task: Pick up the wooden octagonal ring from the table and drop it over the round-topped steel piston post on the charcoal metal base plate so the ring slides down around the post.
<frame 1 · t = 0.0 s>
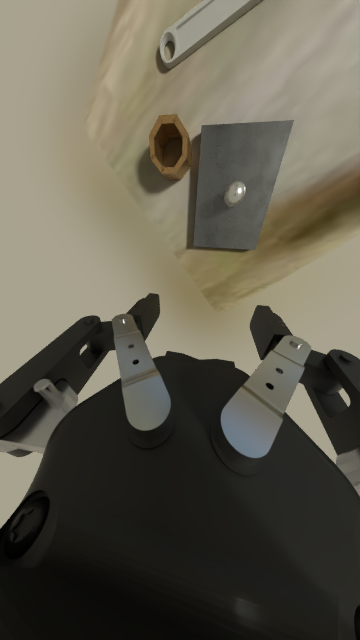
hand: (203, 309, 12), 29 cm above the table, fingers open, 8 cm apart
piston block: (231, 198, 30), on the table
wooden octagonal ring: (174, 157, 28), on the table
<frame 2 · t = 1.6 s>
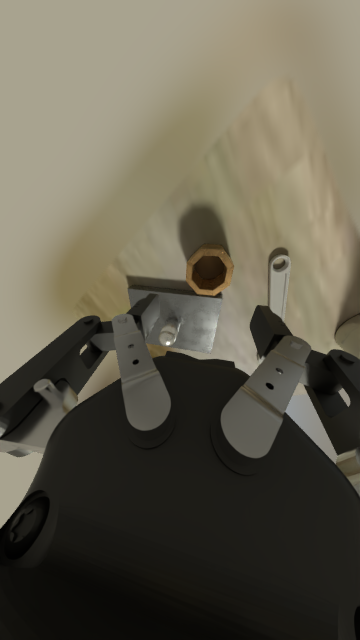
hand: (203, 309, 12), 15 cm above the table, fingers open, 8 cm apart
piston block: (174, 318, 32), on the table
adjustable wrench: (277, 321, 28), on the table
wooden octagonal ring: (209, 265, 24), on the table
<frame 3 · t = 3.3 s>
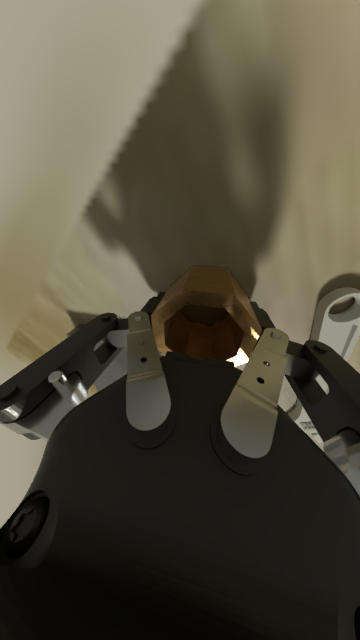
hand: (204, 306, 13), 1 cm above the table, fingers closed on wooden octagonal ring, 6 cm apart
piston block: (152, 371, 21), on the table
adjustable wrench: (315, 385, 17), on the table
wooden octagonal ring: (204, 302, 13), on the table, touching gripper
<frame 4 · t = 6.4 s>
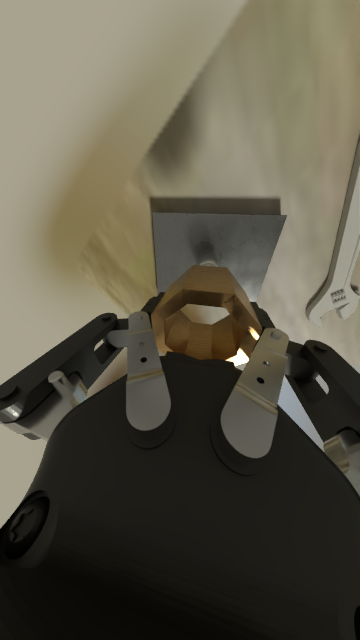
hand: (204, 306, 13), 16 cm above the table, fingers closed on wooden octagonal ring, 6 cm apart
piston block: (208, 263, 25), on the table
adjustable wrench: (345, 251, 21), on the table
wooden octagonal ring: (204, 302, 13), point 15 cm above the table, touching gripper
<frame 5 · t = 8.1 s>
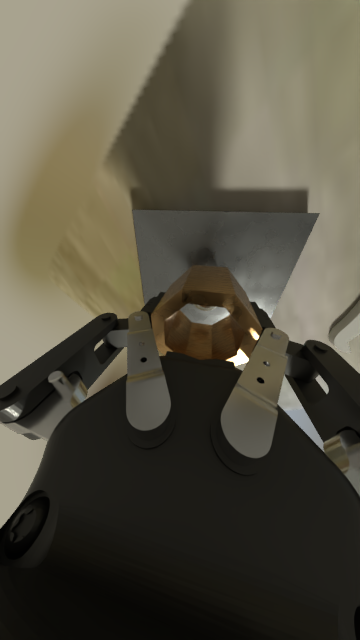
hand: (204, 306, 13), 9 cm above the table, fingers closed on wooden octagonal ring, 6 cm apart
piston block: (208, 275, 20), on the table
wooden octagonal ring: (204, 302, 13), point 8 cm above the table, touching gripper
when the fingers open (6 cm above the table, at t = 9.5 s): wooden octagonal ring drops 3 cm, resting on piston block.
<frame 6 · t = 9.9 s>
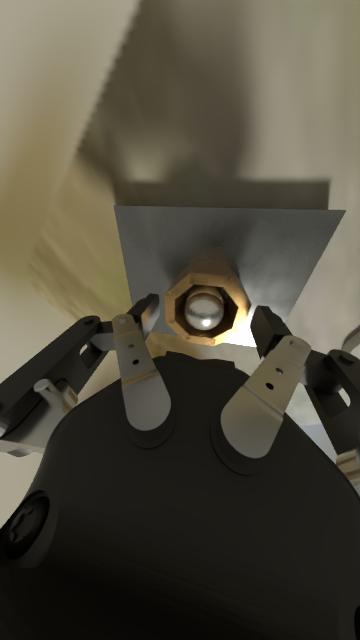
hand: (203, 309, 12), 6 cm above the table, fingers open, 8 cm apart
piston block: (206, 283, 17), on the table
wooden octagonal ring: (206, 289, 15), point 2 cm above the table, touching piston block
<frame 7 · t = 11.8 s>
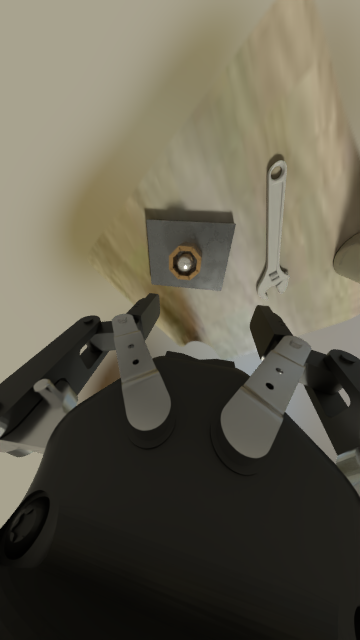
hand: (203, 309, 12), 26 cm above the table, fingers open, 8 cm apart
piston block: (188, 256, 35), on the table
adjustable wrench: (275, 244, 31), on the table
wooden octagonal ring: (187, 258, 33), point 2 cm above the table, touching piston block
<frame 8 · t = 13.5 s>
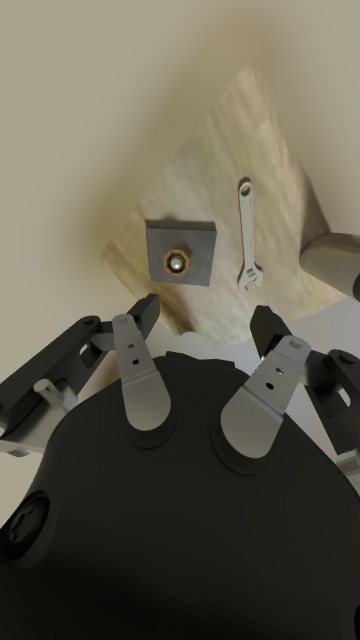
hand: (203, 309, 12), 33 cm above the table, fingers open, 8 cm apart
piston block: (181, 257, 42), on the table
adjustable wrench: (250, 246, 37), on the table
wooden octagonal ring: (179, 259, 40), point 2 cm above the table, touching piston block
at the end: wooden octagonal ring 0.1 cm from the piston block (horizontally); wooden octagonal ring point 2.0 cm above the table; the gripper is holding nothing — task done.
